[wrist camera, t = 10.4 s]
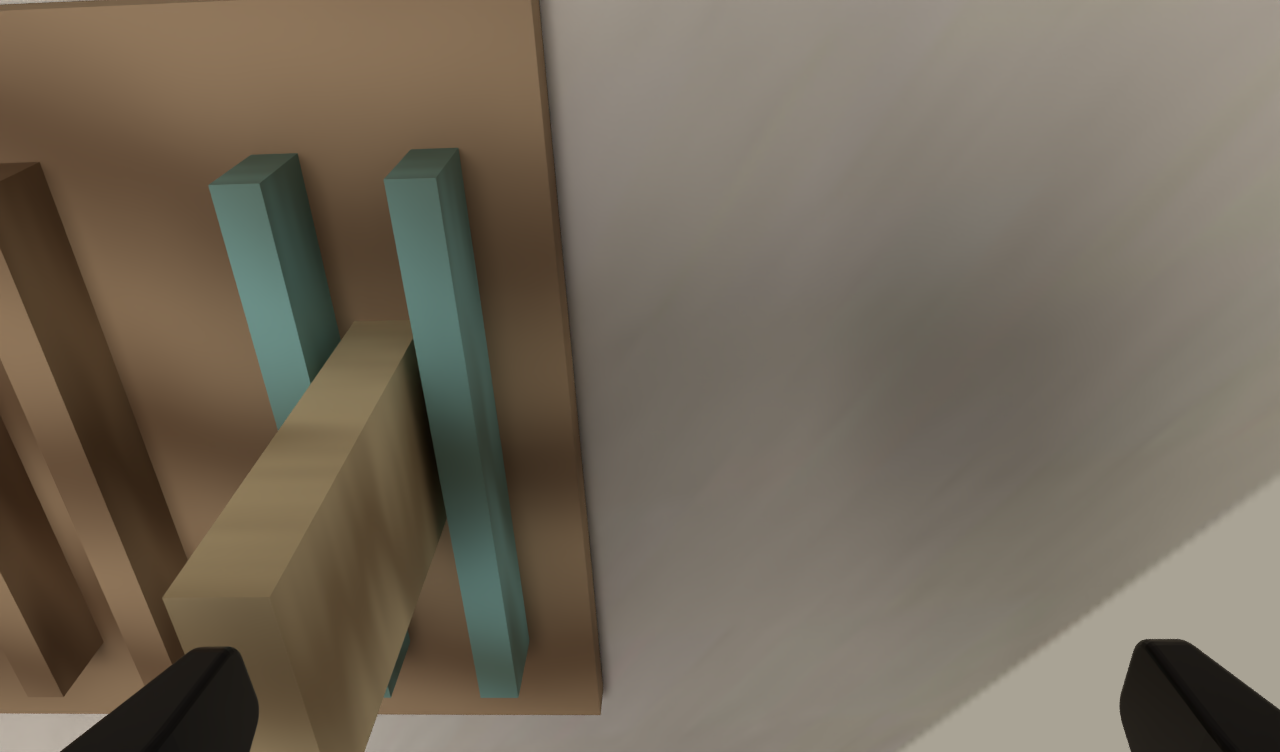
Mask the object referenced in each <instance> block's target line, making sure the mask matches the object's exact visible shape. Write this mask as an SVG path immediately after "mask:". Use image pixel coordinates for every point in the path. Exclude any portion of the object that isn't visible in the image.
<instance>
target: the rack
mask: <svg viewBox="0 0 1280 752" xmlns="http://www.w3.org/2000/svg"><path fill="white" fill-rule="evenodd" d="M397 320H410V323H411V329H412V334H413V339H414V345H415V350H416V355H417V361H418V366H419V371H420V377H421V382H422V387H423V393H424V398H425V403H426V409H427V414H428V419H429V425H430V430H431V435H432V441H433V446H434V451H435V457H436V462H437V467H438V473H439V478H440V483H441V489H442V494H443V499H444V505H445V510H446V516H447V519H446V522H445V525H444V528H443V531H442V533H441V536H440V539H439V542H438V545H437V548H436V550H435V553H434V556H433V559H432V562H431V565H430V567H429V570H428V573H427V576H426V579H425V581H424V584H423V587H422V590H421V593H420V596H419V598H418V601H417V604H416V607H415V610H414V613H413V615H412V618H411V621H410V624H409V627H408V629H407V632H406V635H405V638H404V641H403V644H402V646H401V649H400V652H399V655H398V658H397V661H396V663H395V666H394V669H393V672H392V675H391V677H390V680H389V683H388V686H387V689H386V692H385V694H384V697H383V700H382V703H381V706H380V709H379V711H378V714H443V715H601V704H602V694H603V682H602V672H601V661H600V650H599V639H598V629H597V618H596V607H595V597H594V586H593V575H592V564H591V554H590V543H589V532H588V522H587V511H586V500H585V489H584V479H583V468H582V457H581V447H580V436H579V425H578V414H577V404H576V393H575V382H574V372H573V361H572V350H571V339H570V329H569V318H568V307H567V297H566V286H565V275H564V264H563V254H562V243H561V232H560V222H559V211H558V200H557V189H556V179H555V168H554V157H553V147H552V136H551V125H550V114H549V104H548V93H547V82H546V71H545V61H544V50H543V39H542V29H541V18H540V7H539V0H95V1H73V2H50V3H28V4H5V5H0V713H66V714H109V713H110V712H112V711H113V710H114V709H116V708H117V707H118V706H119V705H121V704H122V703H123V702H125V701H126V700H127V699H128V698H130V697H131V696H132V695H134V694H135V693H136V692H137V691H139V690H140V689H141V688H143V687H144V686H145V685H146V684H148V683H149V682H150V681H152V680H153V679H154V678H155V677H157V676H158V675H159V674H160V673H162V672H163V671H164V670H166V669H167V668H168V667H169V666H171V665H172V664H173V663H175V662H176V661H177V660H178V659H180V658H181V657H182V656H184V655H185V654H184V651H183V649H182V646H181V644H180V641H179V639H178V636H177V634H176V631H175V629H174V626H173V624H172V621H171V619H170V616H169V614H168V611H167V609H166V606H165V604H164V601H163V599H162V597H163V596H164V594H165V593H166V591H167V590H168V589H169V587H170V586H171V584H172V583H173V581H174V580H175V578H176V577H177V576H178V574H179V573H180V571H181V570H182V568H183V567H184V566H185V564H186V563H187V561H188V560H189V558H190V557H191V555H192V554H193V553H194V551H195V550H196V548H197V547H198V545H199V544H200V542H201V541H202V540H203V538H204V537H205V535H206V534H207V532H208V531H209V530H210V528H211V527H212V525H213V524H214V522H215V521H216V519H217V518H218V517H219V515H220V514H221V512H222V511H223V509H224V508H225V507H226V505H227V504H228V502H229V501H230V499H231V498H232V496H233V495H234V494H235V492H236V491H237V489H238V488H239V486H240V485H241V484H242V482H243V481H244V479H245V478H246V476H247V475H248V473H249V472H250V471H251V469H252V468H253V466H254V465H255V463H256V462H257V461H258V459H259V458H260V456H261V455H262V453H263V452H264V450H265V449H266V448H267V446H268V445H269V443H270V442H271V440H272V439H273V438H274V436H275V435H276V433H277V432H278V430H279V429H280V427H281V426H282V425H283V423H284V422H285V420H286V419H287V417H288V416H289V414H290V413H291V412H292V410H293V409H294V407H295V406H296V404H297V403H298V402H299V400H300V399H301V397H302V396H303V394H304V393H305V391H306V390H307V389H308V387H309V386H310V384H311V383H312V381H313V380H314V379H315V377H316V376H317V374H318V373H319V371H320V370H321V368H322V367H323V366H324V364H325V363H326V361H327V360H328V358H329V357H330V356H331V354H332V353H333V351H334V350H335V348H336V347H337V345H338V344H339V343H340V341H341V340H342V338H343V337H344V335H345V334H346V333H347V331H348V330H349V328H350V327H351V325H352V324H353V322H354V321H397Z"/></svg>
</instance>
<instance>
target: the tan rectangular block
mask: <svg viewBox="0 0 1280 752" xmlns="http://www.w3.org/2000/svg"><path fill="white" fill-rule="evenodd" d="M446 519H447V516H446V510H445V505H444V499H443V494H442V489H441V483H440V478H439V473H438V467H437V462H436V457H435V451H434V446H433V441H432V435H431V430H430V425H429V419H428V414H427V409H426V403H425V398H424V393H423V387H422V382H421V377H420V371H419V366H418V361H417V355H416V350H415V345H414V339H413V334H412V329H411V323H410V320H397V321H354V322H353V324H352V325H351V327H350V328H349V330H348V331H347V333H346V334H345V335H344V337H343V338H342V340H341V341H340V343H339V344H338V345H337V347H336V348H335V350H334V351H333V353H332V354H331V356H330V357H329V358H328V360H327V361H326V363H325V364H324V366H323V367H322V368H321V370H320V371H319V373H318V374H317V376H316V377H315V379H314V380H313V381H312V383H311V384H310V386H309V387H308V389H307V390H306V391H305V393H304V394H303V396H302V397H301V399H300V400H299V402H298V403H297V404H296V406H295V407H294V409H293V410H292V412H291V413H290V414H289V416H288V417H287V419H286V420H285V422H284V423H283V425H282V426H281V427H280V429H279V430H278V432H277V433H276V435H275V436H274V438H273V439H272V440H271V442H270V443H269V445H268V446H267V448H266V449H265V450H264V452H263V453H262V455H261V456H260V458H259V459H258V461H257V462H256V463H255V465H254V466H253V468H252V469H251V471H250V472H249V473H248V475H247V476H246V478H245V479H244V481H243V482H242V484H241V485H240V486H239V488H238V489H237V491H236V492H235V494H234V495H233V496H232V498H231V499H230V501H229V502H228V504H227V505H226V507H225V508H224V509H223V511H222V512H221V514H220V515H219V517H218V518H217V519H216V521H215V522H214V524H213V525H212V527H211V528H210V530H209V531H208V532H207V534H206V535H205V537H204V538H203V540H202V541H201V542H200V544H199V545H198V547H197V548H196V550H195V551H194V553H193V554H192V555H191V557H190V558H189V560H188V561H187V563H186V564H185V566H184V567H183V568H182V570H181V571H180V573H179V574H178V576H177V577H176V578H175V580H174V581H173V583H172V584H171V586H170V587H169V589H168V590H167V591H166V593H165V594H164V596H163V597H162V599H163V601H164V604H165V606H166V609H167V611H168V614H169V616H170V619H171V621H172V624H173V626H174V629H175V631H176V634H177V636H178V639H179V641H180V644H181V646H182V649H183V651H184V654H186V653H188V652H189V651H191V650H192V649H195V648H198V647H215V646H230V647H234V648H235V649H237V650H238V651H239V652H240V654H241V656H242V658H243V661H244V663H245V666H246V669H247V671H248V674H249V677H250V679H251V682H252V685H253V687H254V690H255V693H256V695H257V698H258V703H259V719H258V724H257V728H256V732H255V735H254V739H253V742H252V746H251V749H250V752H364V751H365V748H366V745H367V742H368V740H369V737H370V734H371V731H372V728H373V726H374V723H375V720H376V717H377V714H378V711H379V709H380V706H381V703H382V700H383V697H384V694H385V692H386V689H387V686H388V683H389V680H390V677H391V675H392V672H393V669H394V666H395V663H396V661H397V658H398V655H399V652H400V649H401V646H402V644H403V641H404V638H405V635H406V632H407V629H408V627H409V624H410V621H411V618H412V615H413V613H414V610H415V607H416V604H417V601H418V598H419V596H420V593H421V590H422V587H423V584H424V581H425V579H426V576H427V573H428V570H429V567H430V565H431V562H432V559H433V556H434V553H435V550H436V548H437V545H438V542H439V539H440V536H441V533H442V531H443V528H444V525H445V522H446Z"/></svg>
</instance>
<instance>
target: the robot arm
mask: <svg viewBox="0 0 1280 752" xmlns="http://www.w3.org/2000/svg"><path fill="white" fill-rule="evenodd" d="M1120 715H1121V720H1122V724H1123V727H1124V730H1125V734H1126V737H1127V740H1128V743H1129V747H1130V750H1131V752H1280V710H1279V709H1278V708H1277V707H1276V706H1274V705H1273V704H1272V703H1270V702H1269V701H1267V700H1266V699H1265V698H1263V697H1262V696H1261V695H1259V694H1258V693H1257V692H1255V691H1254V690H1253V689H1251V688H1250V687H1248V686H1247V685H1246V684H1245V683H1243V682H1242V681H1241V680H1239V679H1238V678H1237V677H1235V676H1234V675H1233V674H1231V673H1230V672H1229V671H1227V670H1226V669H1225V668H1223V667H1222V666H1220V665H1219V664H1218V663H1216V662H1215V661H1214V660H1213V659H1211V658H1210V657H1209V656H1207V655H1206V654H1204V653H1203V652H1202V651H1200V650H1199V649H1198V648H1196V647H1195V646H1194V645H1192V644H1191V643H1189V642H1187V641H1184V640H1180V639H1146V640H1142V641H1140V642H1139V643H1138V644H1137V645H1136V646H1135V649H1134V651H1133V654H1132V658H1131V661H1130V665H1129V668H1128V672H1127V675H1126V678H1125V681H1124V685H1123V689H1122V692H1121V696H1120ZM258 719H259V703H258V698H257V695H256V693H255V690H254V687H253V685H252V682H251V679H250V677H249V674H248V671H247V669H246V666H245V663H244V661H243V658H242V656H241V654H240V652H239V651H238V650H237V649H235V648H234V647H230V646H215V647H198V648H195V649H192V650H191V651H189V652H188V653H186V654H185V655H184V656H182V657H181V658H180V659H178V660H177V661H176V662H175V663H173V664H172V665H171V666H169V667H168V668H167V669H166V670H164V671H163V672H162V673H160V674H159V675H158V676H157V677H155V678H154V679H153V680H152V681H150V682H149V683H148V684H146V685H145V686H144V687H143V688H141V689H140V690H139V691H137V692H136V693H135V694H134V695H132V696H131V697H130V698H128V699H127V700H126V701H125V702H123V703H122V704H121V705H119V706H118V707H117V708H116V709H114V710H113V711H112V712H110V713H109V714H108V715H107V716H105V717H104V718H103V719H101V720H100V721H99V722H98V723H96V724H95V725H94V726H92V727H91V728H90V729H89V730H87V731H86V732H85V733H83V734H82V735H81V736H80V737H78V738H77V739H76V740H74V741H73V742H72V743H71V744H69V745H68V746H67V747H66V748H64V749H63V750H62V751H60V752H250V749H251V746H252V742H253V739H254V735H255V732H256V728H257V724H258Z"/></svg>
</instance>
